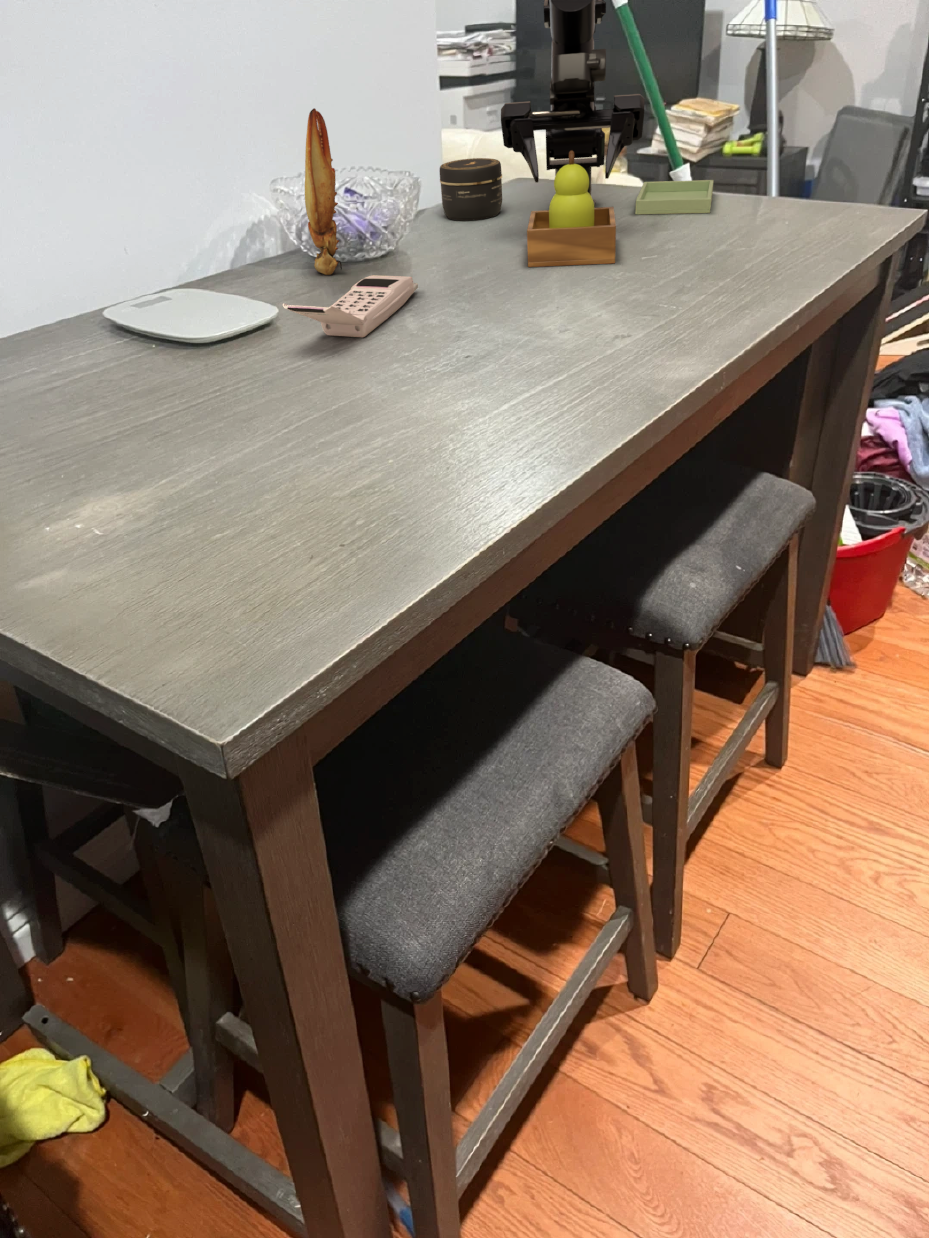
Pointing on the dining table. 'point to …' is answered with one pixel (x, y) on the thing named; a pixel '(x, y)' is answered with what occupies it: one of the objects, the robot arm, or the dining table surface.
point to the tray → (675, 197)
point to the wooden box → (571, 241)
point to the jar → (471, 188)
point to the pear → (571, 198)
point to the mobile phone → (361, 306)
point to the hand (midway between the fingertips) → (571, 178)
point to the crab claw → (320, 193)
